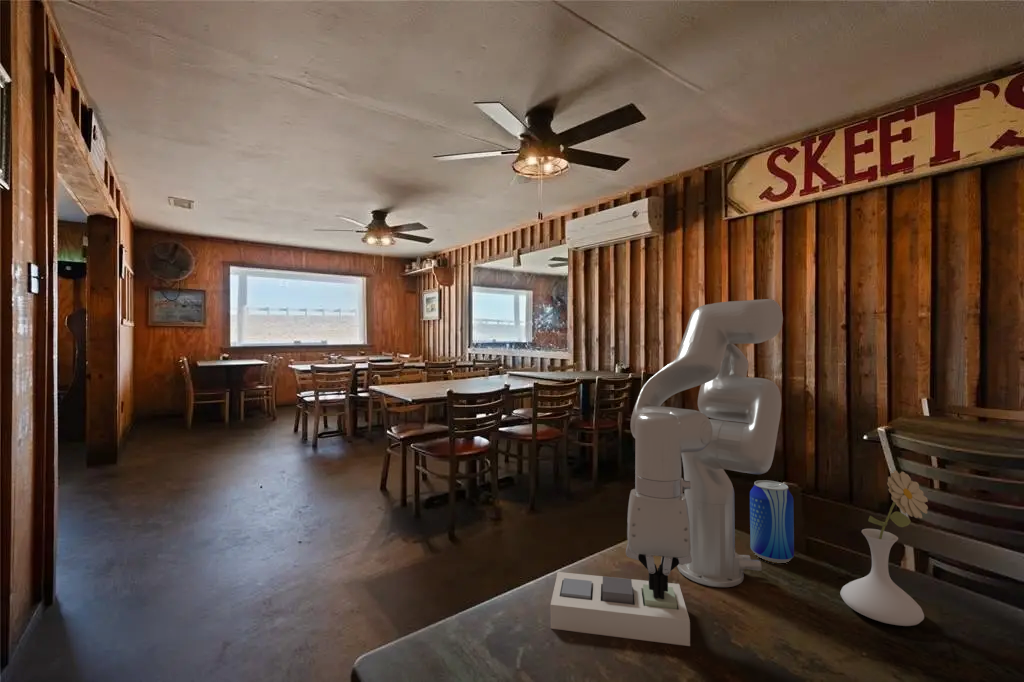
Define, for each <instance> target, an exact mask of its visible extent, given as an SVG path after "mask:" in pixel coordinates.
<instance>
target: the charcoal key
mask: <svg viewBox="0 0 1024 682" xmlns="http://www.w3.org/2000/svg"><path fill="white" fill-rule="evenodd" d="M602 598H603V601H605V602H614V603H623V604H632V605H633V591H632V581H631V578H624V579H623V577H614V578H613V576H611V577H610V576H604V577H603V589H602Z"/></svg>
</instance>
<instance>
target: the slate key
mask: <svg viewBox="0 0 1024 682" xmlns="http://www.w3.org/2000/svg"><path fill="white" fill-rule="evenodd" d="M561 597H569V598H578V599H587V600H592V581H587V580H577V579H568V578H564V581H563V586H562V592H561Z"/></svg>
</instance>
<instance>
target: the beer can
mask: <svg viewBox="0 0 1024 682" xmlns="http://www.w3.org/2000/svg"><path fill="white" fill-rule="evenodd" d="M779 484H781V485H779ZM794 508H795V507H794V497H793V495H792V493H791V492H790V490H789V486H788V485H787V484H786V483H783V482H779V481H774V480H767V479H766V480H764V479H763V480H756V481H754V484H753V486H752V487H751V489H750V491H749V526H750V527H749V529H750V530H749V531H750V534H749V535H750V536H749V537H750V538H749V539H750V541H749V542H750V543H749V547H750V550H751V551H752V552H753V553H755V554H754V556H755V555H757V556H758V557H760V558H762V559H765V560H768V561H772V562H777V563H786V562H789V561H791V560H792V559H793V558H794V557H795V533H794V532H795V527H794V525H795V523H794V520H795V519H794V518H795V517H794V515H795V514H794ZM758 557H757V558H758ZM789 563H790V562H789ZM786 564H787V563H786Z"/></svg>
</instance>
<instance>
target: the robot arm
mask: <svg viewBox="0 0 1024 682" xmlns="http://www.w3.org/2000/svg"><path fill="white" fill-rule="evenodd" d="M783 321H784V316H783V311H782V308H781V306H780V305H779V303H778V302H777V301H775V300H774V299H772V298H771V299H770V298H766V299H765V298H763V299H750V300H749V299H748V300H734V301H733V300H732V301H721V302H714V303H708V304H703V305H700V306H698V307H697V308H695V309H694V310H693V311H692V313H691V315H690V317H689V319H688V322H687V325H686V328H685V331H684V333H683V337H682V339H681V343H680V345H679V348H678V351H677V353H676V356H675V358H674V360H672V361H671V362H669V363H668V364H667V365H665V366H663V367H662V368H661V369H660V370H658V371H657V372H655V374H653V376H651V377H650V378H649V379H648V380H647V381H646V382H645V383H644V384H643V386H642V388H641V390H640V391H639V393H638V396H637V399H636V402H635V404H634V407H633V409H632V410H633V411H632V414H631V417H630V431H631V435H632V437H633V438H634V439H635V440H634V441H635V445H634V446H635V447H634V449H635V450H634V451H635V457H634V458H635V461H634V462H635V465H634V469H635V472H634V474H635V477H634V478H635V479H634V481H635V482H634V484H635V487H634V488H633V489H631V490H630V493H629V499H628V506H627V519H626V520H627V522H626V523H627V525H626V539H627V545H626V548H625V556H626V557H627V558H629V559H632V560H635V561H639V562H640V563H641V564H642V565H643V566H644V567H645V569H647V571H648V581H649V590H653V594H654V598H657V597H659V598H661V599H664V591H666V592H668V583H669V575H671V572H672V570H674V569H675V568H677V570H678V571H679V573H681V575H682V576H684V577H686V578H687V579H688V580H690V581H692V582H695V583H698V584H700V585H703V586H708V587H713V588H714V587H715V588H730V587H735V586H738V585H739V584H741V583H742V582H743V581H744V578H745V577H744V571H745V570H752V571H758V572H759V571H762V569H763V568H762V563H761V559H751V556H750V555H749V554H738V553H737V552H736V547H735V546H736V545H735V544H736V543H735V542H736V541H735V538H736V537H735V536H736V532H735V531H736V529H735V525H736V524H735V521H736V519H735V489H734V487H733V483H732V481H731V479H730V477H729V476H728V474H727V473H726V471H727V470H728V471H734V472H739V473H745V474H746V473H747V474H750V475H751V474H752V475H762V474H765V473H767V472H769V470H770V468H771V466H772V465H773V464H772V463H773V460H774V457H775V451H776V445H777V444H776V443H777V438H778V432H779V425H780V420H781V413H782V394H781V392H780V388H779V387H778V385H777V384H776V383H775V382H774V381H772V380H770V379H768V378H763V377H752V376H751V377H749V376H748V377H747V375H748V370H749V361H748V359H747V357H746V356H745V354H744V353H743V352H742V350H740V348H739V347H738V346H737V344H739V345H740V344H742V345H744V344H746V345H747V344H748V345H751V344H753V345H755V344H761V343H765V342H767V341H769V340H771V339H773V338H775V337H776V336H778V334H779V333H780V331H781V329H782V326H783ZM698 386H700V387H699V391H698V395H697V396H698V397H697V407H698V408H697V409H698V410H695V409H688V408H678V407H671V406H662V404H664V403H665V401H667V400H668V399H669V398H671V397H672V396H674V395H676V394H678V393H680V392H684V391H686V390H689V389H692V388H696V387H698ZM709 418H710V419H709ZM682 467H683V477H682ZM725 470H726V471H725ZM683 492H684V493H683ZM654 557H661V559H660V564H659V566H658V567H657V564H656V563H655V559H654Z"/></svg>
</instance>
